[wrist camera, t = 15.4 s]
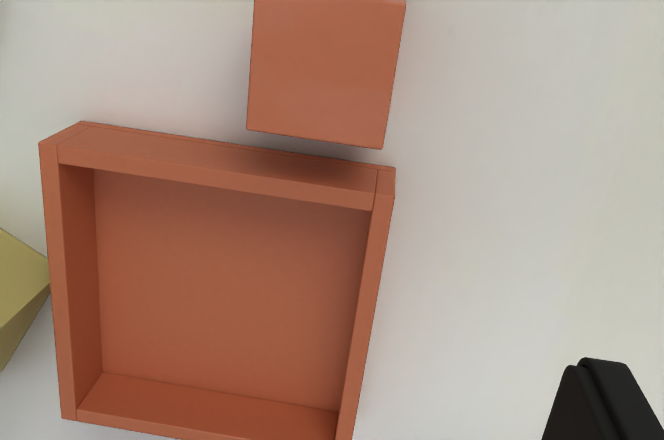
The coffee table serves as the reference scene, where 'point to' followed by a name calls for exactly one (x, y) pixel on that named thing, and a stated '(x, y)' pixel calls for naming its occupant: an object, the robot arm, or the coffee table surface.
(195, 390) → the terracotta bin
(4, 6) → the coffee table surface
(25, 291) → the cake
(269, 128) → the block
